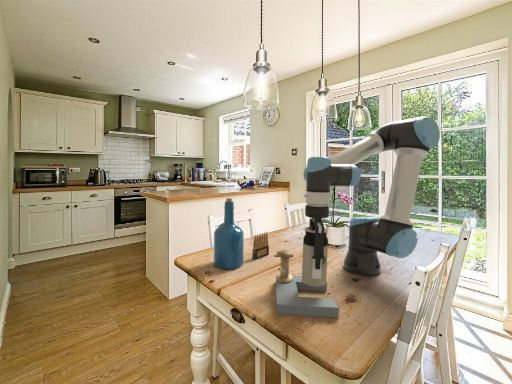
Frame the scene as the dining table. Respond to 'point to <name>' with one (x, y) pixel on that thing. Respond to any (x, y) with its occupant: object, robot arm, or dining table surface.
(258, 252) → the ammunition clip
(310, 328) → the dining table surface
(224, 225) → the wine bottle
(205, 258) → the dining table surface
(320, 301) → the notched board
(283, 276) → the birch bobbin
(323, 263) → the travel mug
